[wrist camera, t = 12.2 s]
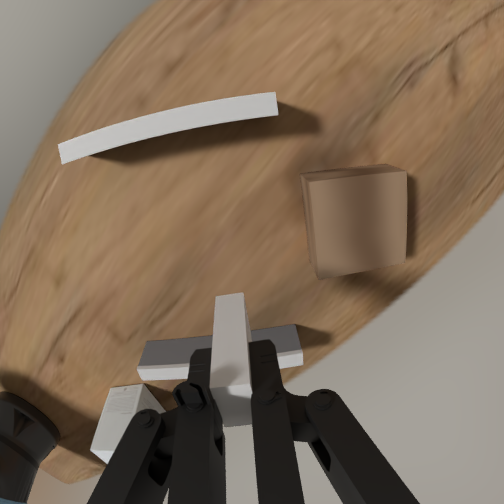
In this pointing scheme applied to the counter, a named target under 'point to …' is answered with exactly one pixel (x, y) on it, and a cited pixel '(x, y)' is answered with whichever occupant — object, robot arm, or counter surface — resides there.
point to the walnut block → (355, 218)
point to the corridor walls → (165, 122)
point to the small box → (120, 416)
